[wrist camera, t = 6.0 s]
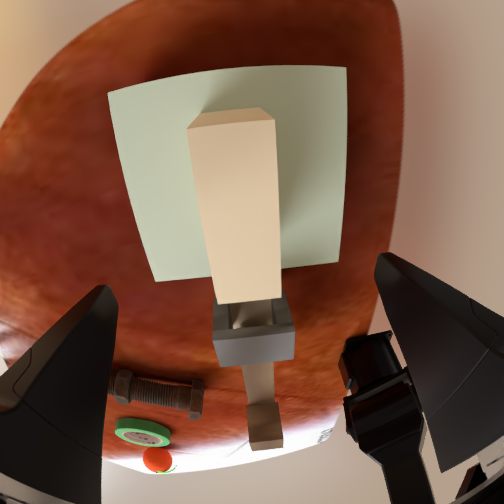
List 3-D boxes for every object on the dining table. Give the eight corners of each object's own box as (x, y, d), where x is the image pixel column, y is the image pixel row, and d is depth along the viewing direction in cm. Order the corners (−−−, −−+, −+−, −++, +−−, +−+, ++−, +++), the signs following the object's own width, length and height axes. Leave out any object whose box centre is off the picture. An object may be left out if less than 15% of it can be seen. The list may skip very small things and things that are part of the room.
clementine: (175, 445, 51) (175, 472, 45) (178, 452, 55) (177, 477, 49) (141, 441, 50) (139, 468, 44) (146, 448, 54) (144, 473, 48)
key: (272, 324, 21) (285, 397, 16) (275, 394, 28) (283, 447, 23) (233, 328, 21) (237, 403, 16) (247, 397, 28) (252, 450, 23)
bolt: (100, 354, 34) (204, 374, 36) (100, 384, 34) (200, 403, 37) (85, 372, 28) (204, 396, 31) (88, 404, 28) (200, 427, 31)
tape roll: (176, 425, 45) (176, 438, 43) (163, 439, 50) (163, 450, 48) (119, 411, 41) (117, 423, 39) (114, 427, 46) (112, 437, 44)
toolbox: (315, 74, 16) (376, 74, 9) (312, 282, 26) (340, 358, 19) (138, 92, 16) (78, 106, 9) (184, 296, 26) (175, 376, 19)
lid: (339, 67, 13) (395, 67, 8) (333, 253, 20) (364, 314, 15) (114, 91, 12) (58, 103, 8) (158, 272, 19) (141, 339, 14)
